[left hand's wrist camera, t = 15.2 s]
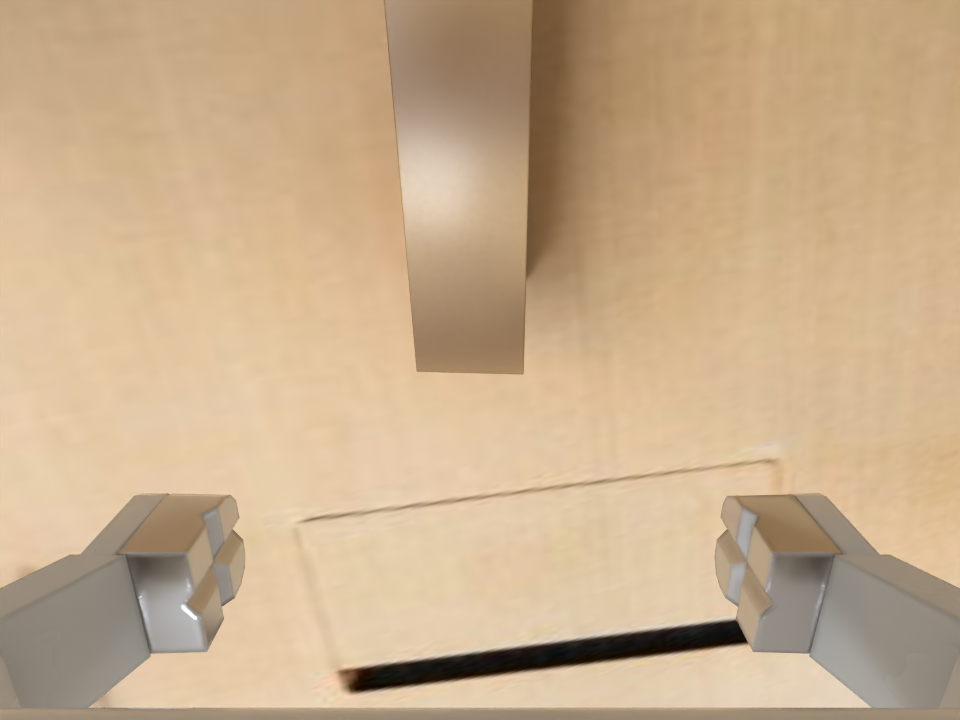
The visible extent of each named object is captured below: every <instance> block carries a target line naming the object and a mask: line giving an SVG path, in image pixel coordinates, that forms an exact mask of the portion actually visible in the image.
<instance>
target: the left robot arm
mask: <svg viewBox="0 0 960 720" xmlns="http://www.w3.org/2000/svg"><path fill="white" fill-rule="evenodd" d="M238 519H239V513H238V508H237V503H236V500H235V499H234V498H233V497H232V496H231V495H208V494H140V495H136V496H134V497H133V498H132V499H131V500H130V501H129V502H128V503H127V504H126V505H125V507H124V508H123V509H122V510H121V511H120V512H119V513H118V514H117V515H116V516H115V517H114V518H113V520H112V521H111V522H110V523H109V524H108V525H107V526H106V527H105V528H104V529H103V530H102V532H101V533H100V534H99V535H98V536H97V537H96V538H95V539H94V540H93V541H92V542H91V543H90V545H89V546H88V547H87V548H86V549H85V550H84V551H83V552H82V553H81V554H80V555H69V556H67V557H64V558H62V559H60V560H58V561H56V562H54V563H52V564H50V565H48V566H46V567H44V568H42V569H40V570H37V571H35V572H33V573H31V574H29V575H27V576H25V577H23V578H21V579H19V580H17V581H15V582H13V583H10V584H8V585H6V586H4V587H2V588H0V720H960V588H958V587H956V586H954V585H951V584H949V583H947V582H945V581H943V580H941V579H939V578H937V577H935V576H933V575H931V574H929V573H927V572H925V571H922V570H920V569H918V568H916V567H914V566H912V565H910V564H908V563H906V562H904V561H902V560H900V559H898V558H896V557H893V556H891V555H880V554H879V553H878V552H877V551H876V550H875V549H874V548H873V547H872V546H871V545H870V543H869V542H868V541H867V540H866V539H865V538H864V537H863V536H862V535H861V534H860V533H859V532H858V530H857V529H856V528H855V527H854V526H853V525H852V524H851V523H850V522H849V521H848V520H847V518H846V517H845V516H844V515H843V514H842V513H841V512H840V511H839V510H838V509H837V508H836V506H835V505H834V504H833V503H832V502H831V501H830V500H829V499H828V498H827V497H826V496H824V495H822V494H819V493H809V494H788V495H747V496H727V497H726V499H725V501H724V503H723V507H722V512H721V519H722V521H723V522H724V524H725V526H726V527H727V530H726V531H725V532H724V533H723V534H722V535H721V536H720V537H719V538H718V539H717V543H716V550H715V567H716V575H717V579H718V582H719V585H720V588H721V590H722V592H723V594H724V596H725V598H726V599H728V600H729V601H731V602H732V603H734V604H735V605H736V606H738V611H737V616H736V620H737V622H738V624H739V625H740V627H741V629H742V631H743V633H744V635H745V637H746V639H747V641H748V643H749V645H750V647H751V649H752V650H753V652H775V653H810V657H811V658H812V659H814V660H815V661H816V662H817V663H818V664H820V665H821V666H822V667H823V668H825V669H826V670H827V671H828V672H829V673H831V674H832V675H833V676H834V677H835V678H837V679H838V680H839V681H840V682H842V683H843V684H844V685H845V686H846V687H848V688H849V689H850V690H851V691H853V692H854V693H855V694H856V695H857V696H859V697H860V698H861V699H862V700H863V701H865V702H866V703H867V704H868V705H870V706H871V707H872V708H88V707H89V706H91V705H92V704H93V703H94V702H96V701H97V700H98V699H99V698H100V697H102V696H103V695H104V694H105V693H106V692H108V691H109V690H110V689H111V688H113V687H114V686H115V685H116V684H117V683H119V682H120V681H121V680H122V679H124V678H125V677H126V676H127V675H128V674H130V673H131V672H132V671H133V670H135V669H136V668H137V667H138V666H139V665H141V664H142V663H143V662H144V661H145V660H147V659H148V658H149V657H150V653H184V652H207V651H208V649H209V647H210V645H211V643H212V641H213V639H214V637H215V635H216V633H217V631H218V629H219V627H220V625H221V624H222V622H223V620H224V616H223V611H222V606H224V605H225V604H226V603H228V602H229V601H231V600H232V599H234V598H235V596H236V594H237V592H238V590H239V588H240V586H241V582H242V578H243V573H244V569H245V549H244V542H243V539H242V538H241V537H240V536H239V535H238V534H237V533H236V532H235V531H234V530H233V527H234V526H235V524H236V522H237V521H238Z"/></svg>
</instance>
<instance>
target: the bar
mask: <svg viewBox="0 0 960 720" xmlns="http://www.w3.org/2000/svg"><path fill="white" fill-rule="evenodd" d="M384 5H385V16H386V27H387V39H388V50H389V61H390V73H391V84H392V96H393V107H394V118H395V130H396V141H397V152H398V164H399V175H400V187H401V198H402V209H403V221H404V232H405V243H406V255H407V266H408V277H409V289H410V300H411V312H412V323H413V334H414V346H415V357H416V368H417V372H451V373H488V374H523V373H524V340H525V304H526V267H527V226H528V186H529V146H530V106H531V65H532V25H533V0H384Z"/></svg>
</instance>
